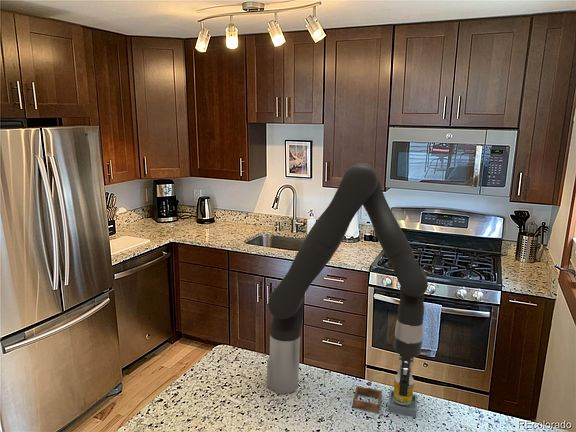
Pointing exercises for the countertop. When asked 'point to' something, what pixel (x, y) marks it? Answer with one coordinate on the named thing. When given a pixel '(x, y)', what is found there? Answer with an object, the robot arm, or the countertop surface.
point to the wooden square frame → (363, 404)
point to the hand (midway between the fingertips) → (403, 389)
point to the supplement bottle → (408, 398)
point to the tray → (402, 406)
